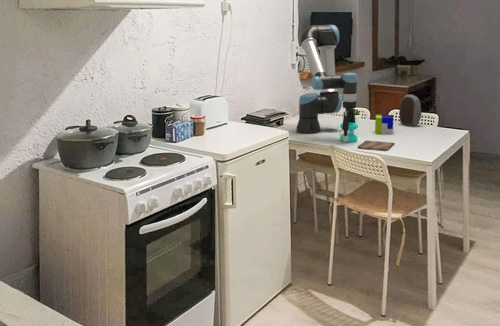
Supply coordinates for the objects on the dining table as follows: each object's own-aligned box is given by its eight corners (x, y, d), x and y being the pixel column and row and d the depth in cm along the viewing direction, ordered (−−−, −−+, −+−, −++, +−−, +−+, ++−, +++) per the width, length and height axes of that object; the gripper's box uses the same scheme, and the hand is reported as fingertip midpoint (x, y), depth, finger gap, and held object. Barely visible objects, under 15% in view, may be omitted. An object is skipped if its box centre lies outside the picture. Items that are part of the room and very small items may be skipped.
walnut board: (357, 148, 285) (357, 146, 285) (365, 142, 298) (365, 140, 298) (387, 151, 278) (387, 149, 277) (394, 144, 291) (394, 142, 291)
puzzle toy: (392, 134, 316) (393, 118, 313) (375, 134, 318) (376, 117, 315) (391, 130, 326) (392, 114, 323) (375, 130, 328) (375, 114, 325)
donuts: (359, 122, 303) (355, 125, 294) (359, 139, 305) (355, 143, 297) (342, 121, 307) (338, 124, 298) (342, 138, 309) (337, 141, 301)
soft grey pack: (396, 124, 345) (397, 93, 339) (404, 122, 349) (406, 92, 344) (415, 127, 333) (417, 96, 327) (423, 125, 338) (425, 94, 332)
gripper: (350, 104, 286) (349, 144, 292) (361, 98, 305) (360, 135, 311) (336, 103, 289) (336, 143, 295) (349, 97, 308) (348, 134, 314)
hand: (348, 139), depth 303 cm, fingers closed on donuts, 10 cm apart
